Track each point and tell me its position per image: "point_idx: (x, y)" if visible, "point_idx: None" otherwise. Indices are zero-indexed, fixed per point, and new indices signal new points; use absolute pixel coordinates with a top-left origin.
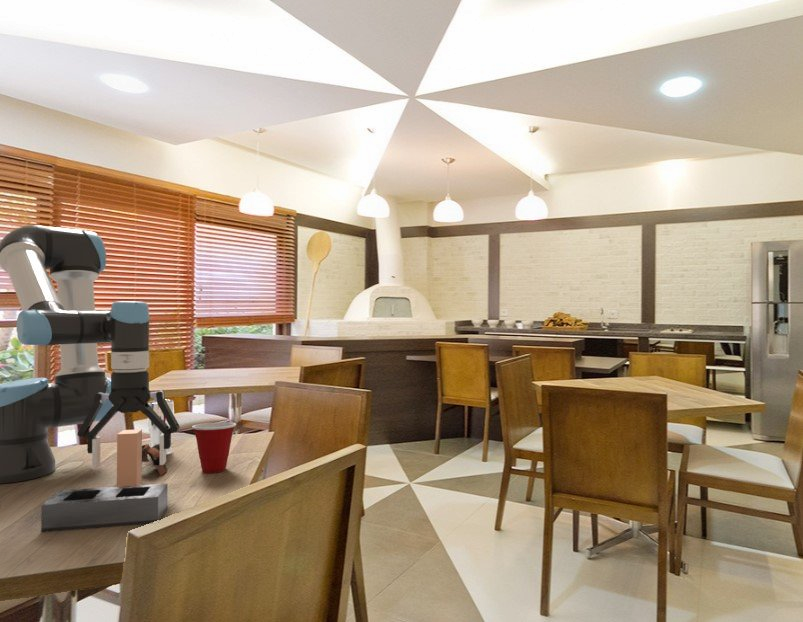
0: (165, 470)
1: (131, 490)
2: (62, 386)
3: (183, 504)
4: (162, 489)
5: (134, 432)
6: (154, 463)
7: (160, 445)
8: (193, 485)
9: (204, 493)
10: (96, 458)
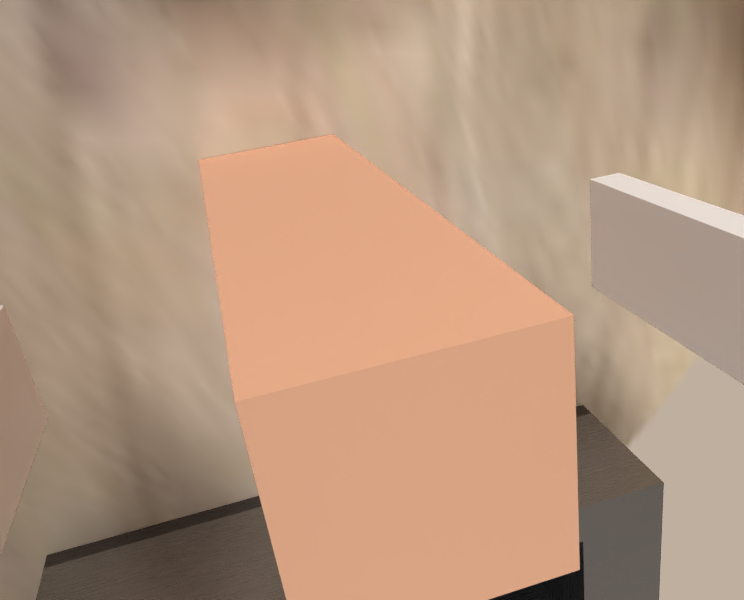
0: None
1: None
2: None
3: (650, 360)
4: (656, 570)
5: (524, 529)
6: None
7: (721, 360)
8: (658, 27)
9: (735, 193)
10: (21, 470)
